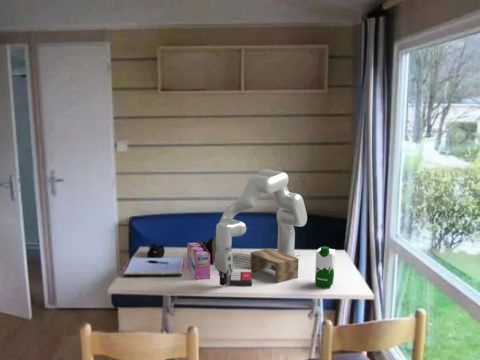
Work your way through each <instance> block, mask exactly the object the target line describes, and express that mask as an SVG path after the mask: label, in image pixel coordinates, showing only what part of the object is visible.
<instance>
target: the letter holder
mask: <svg viewBox="0 0 480 360" xmlns="http://www.w3.org/2000/svg"><path fill="white" fill-rule="evenodd" d="M201 243H202V244H203V246H204V247H205V248H206V249H207V250H208V252H209V253H210V266H211V265H215V253H216V235H215V236H214V237H211V238H209V239H207V241H206V240H204V241H202V242H201Z"/></svg>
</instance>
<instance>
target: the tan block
mask: <svg viewBox="0 0 480 360" xmlns="http://www.w3.org/2000/svg"><path fill="white" fill-rule="evenodd" d="M268 268H271V269H272V270H275V272H274V273H275V276H274V277H275V279H274V280H275V281H274V282H275V284H279V283H283V282H287V281H291V280H296V279H297V278H299V258H298V257H293V256H290V255H287V254H285V253H282V252H280V251H278V249H274V248H272V247H269V248H265V249H261V250H260V249H259V250H254V251H251V252H250V269H251V270H252V272H256V271H259V270H264V269H268Z"/></svg>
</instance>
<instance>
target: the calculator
mask: <svg viewBox="0 0 480 360" xmlns="http://www.w3.org/2000/svg"><path fill="white" fill-rule="evenodd" d="M230 273H231V275H230V276H229V286H231V287H252V286H253V271H252V270H251V269H249V268H248V269H247V268H233V272H231V271H230Z"/></svg>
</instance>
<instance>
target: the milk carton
mask: <svg viewBox="0 0 480 360" xmlns="http://www.w3.org/2000/svg"><path fill="white" fill-rule="evenodd" d="M335 263H336V249H335V248H334V249H333V248H330V247H329V246H325V245H324V246H320V247H319V248H318V249H317V250H316V254H315V272H314V273H315V274H314V275H315V277H314V279H315V280H314V281H315V282H314V283H315V287H316V288H317V287H318V288H325V289H329V290H330V288H331V287H332V286H331V285H334V278H335V277H334V276H335Z"/></svg>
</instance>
